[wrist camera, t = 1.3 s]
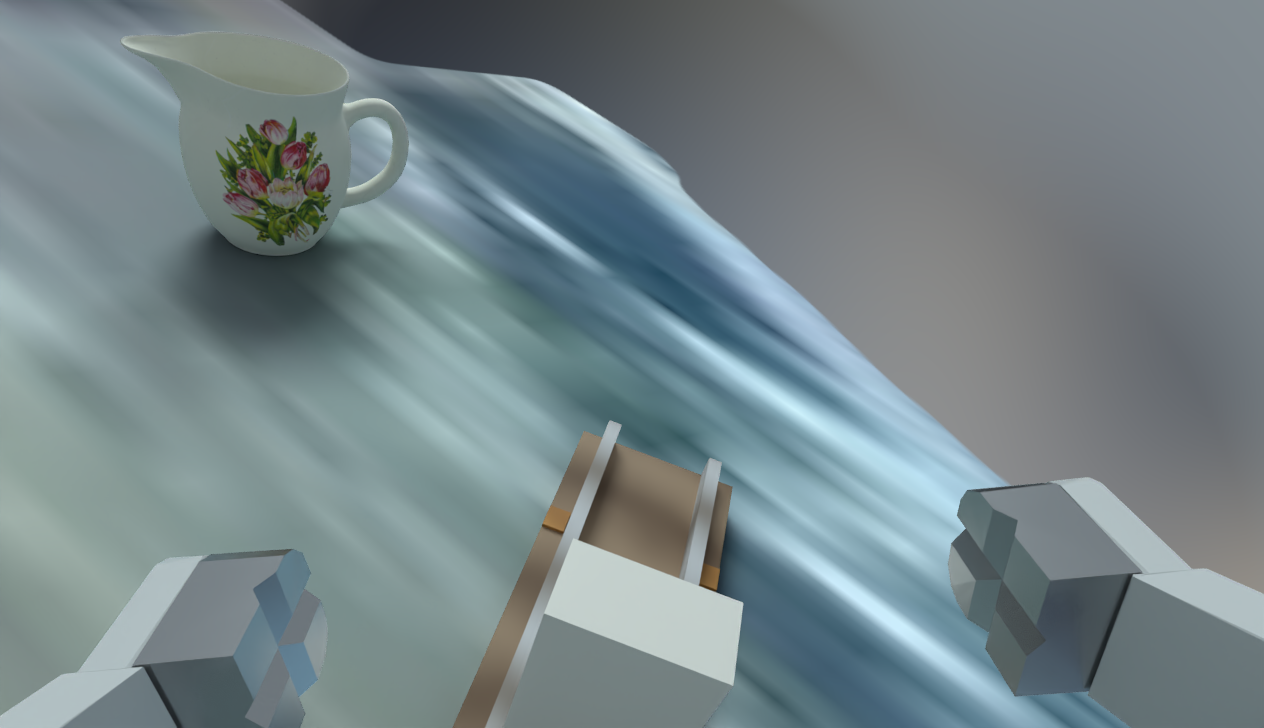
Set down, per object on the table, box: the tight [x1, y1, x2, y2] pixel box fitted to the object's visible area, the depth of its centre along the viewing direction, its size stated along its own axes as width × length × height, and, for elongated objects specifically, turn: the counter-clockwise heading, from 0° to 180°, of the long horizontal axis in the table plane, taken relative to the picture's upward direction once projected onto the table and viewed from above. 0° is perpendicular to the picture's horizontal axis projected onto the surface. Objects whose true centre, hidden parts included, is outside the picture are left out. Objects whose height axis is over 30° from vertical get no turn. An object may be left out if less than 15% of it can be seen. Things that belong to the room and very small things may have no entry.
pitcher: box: [120, 32, 409, 256], centre depth 52 cm, size 11×18×14 cm, turn 122°
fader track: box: [453, 421, 732, 728], centre depth 35 cm, size 25×10×4 cm, turn 167°
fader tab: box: [503, 538, 743, 728], centre depth 26 cm, size 4×6×12 cm, turn 77°
